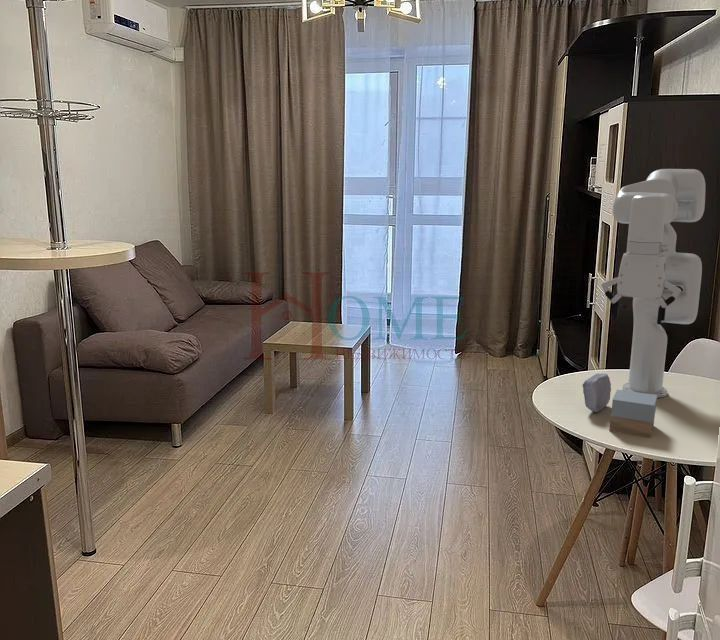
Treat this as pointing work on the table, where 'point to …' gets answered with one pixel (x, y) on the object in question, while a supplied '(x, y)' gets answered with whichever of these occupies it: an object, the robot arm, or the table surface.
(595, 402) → the stone block
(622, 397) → the tower top
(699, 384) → the table surface
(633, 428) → the tower base
